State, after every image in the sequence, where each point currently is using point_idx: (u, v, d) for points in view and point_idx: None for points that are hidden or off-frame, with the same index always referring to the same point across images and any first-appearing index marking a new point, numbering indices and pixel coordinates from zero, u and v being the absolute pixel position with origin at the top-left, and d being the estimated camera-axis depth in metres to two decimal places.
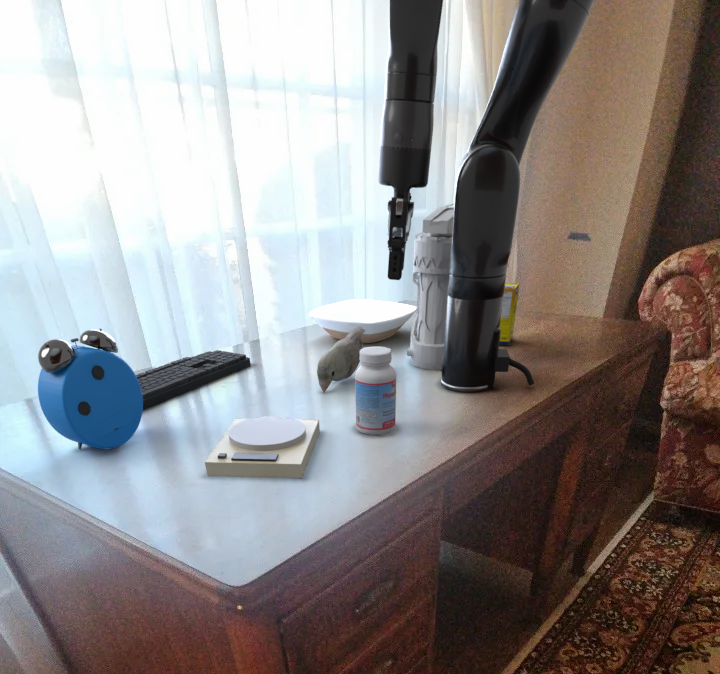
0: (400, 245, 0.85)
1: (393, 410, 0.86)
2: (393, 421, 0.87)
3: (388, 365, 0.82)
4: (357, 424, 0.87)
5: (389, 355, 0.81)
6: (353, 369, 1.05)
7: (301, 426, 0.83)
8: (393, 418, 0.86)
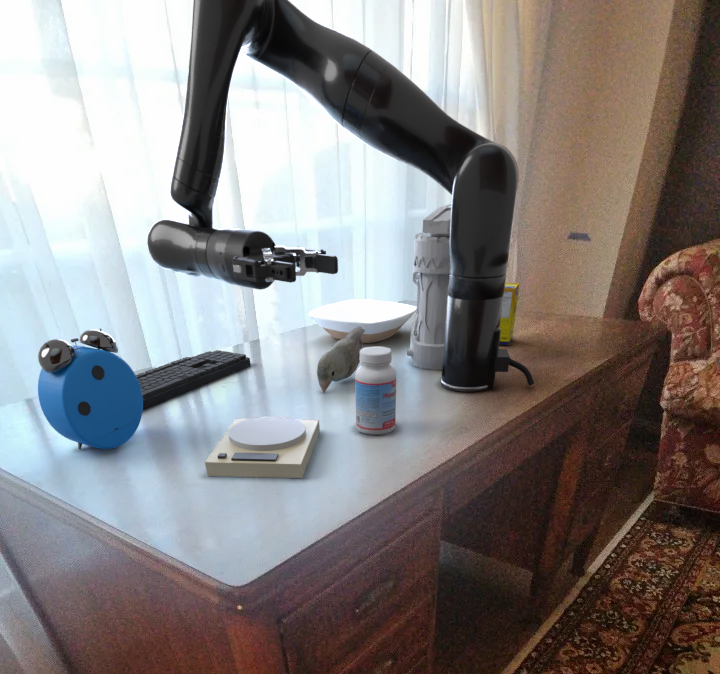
0: (255, 266, 0.79)
1: (393, 410, 0.86)
2: (393, 421, 0.87)
3: (388, 365, 0.82)
4: (357, 424, 0.87)
5: (389, 355, 0.81)
6: (353, 369, 1.05)
7: (301, 426, 0.83)
8: (393, 418, 0.86)
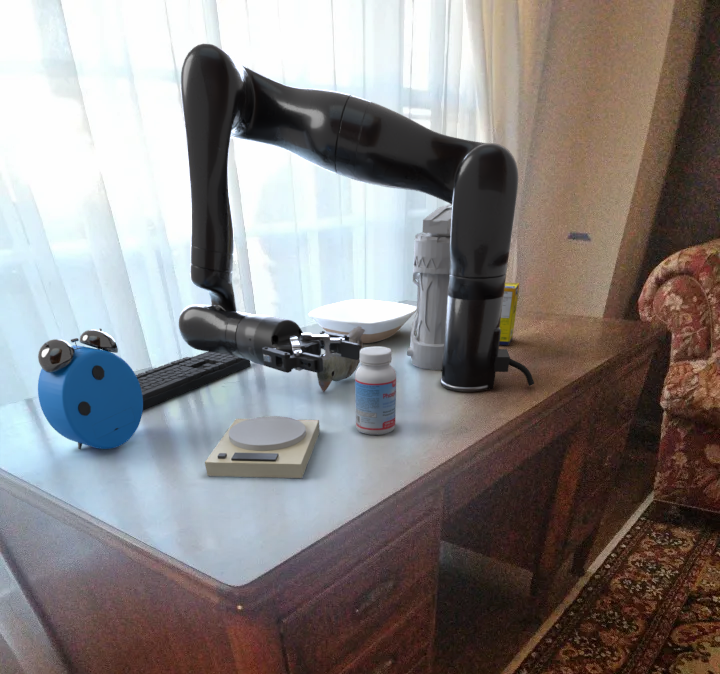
0: (285, 359, 0.85)
1: (393, 410, 0.86)
2: (393, 421, 0.87)
3: (388, 365, 0.82)
4: (357, 424, 0.87)
5: (389, 355, 0.81)
6: (353, 369, 1.05)
7: (301, 426, 0.83)
8: (393, 418, 0.86)
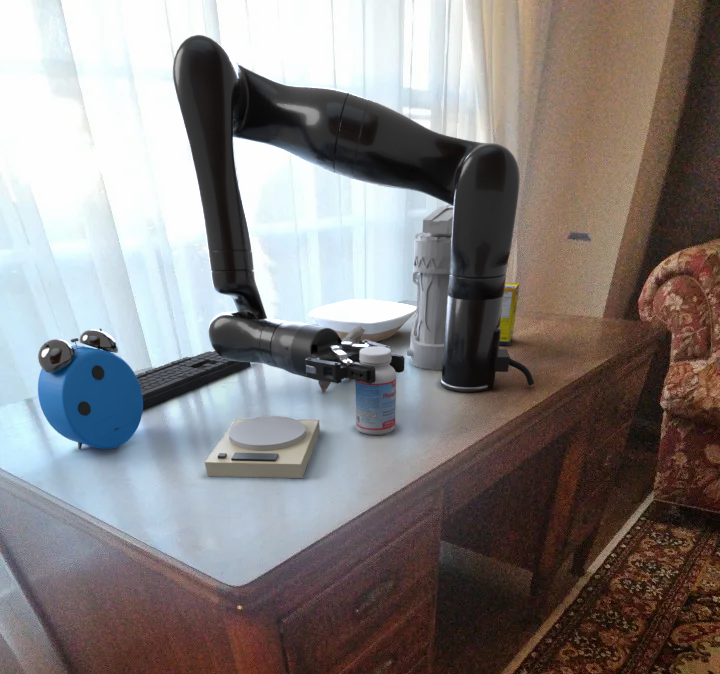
0: (335, 369, 0.80)
1: (393, 410, 0.85)
2: (393, 421, 0.87)
3: (388, 365, 0.82)
4: (357, 424, 0.87)
5: (389, 355, 0.81)
6: None
7: (301, 426, 0.83)
8: (393, 418, 0.86)
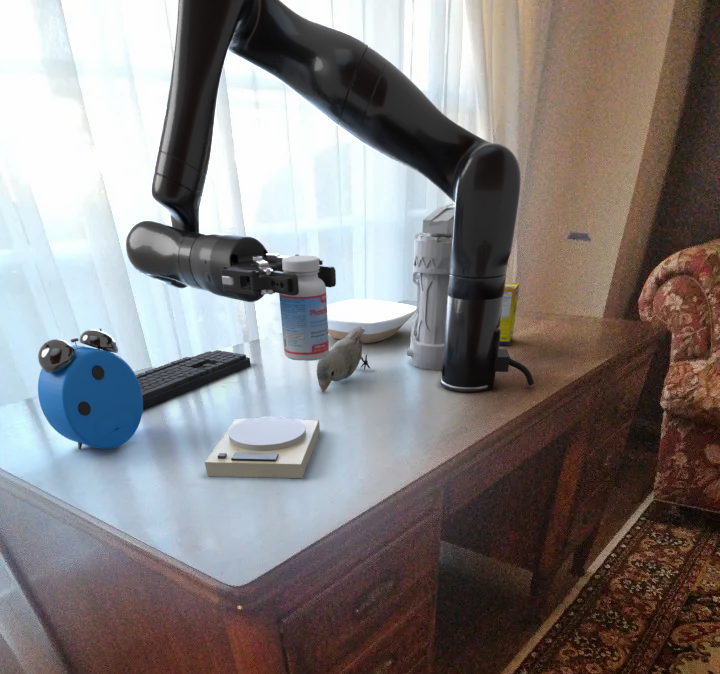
0: (252, 278, 0.70)
1: (324, 332, 0.75)
2: (325, 345, 0.76)
3: (315, 276, 0.71)
4: (284, 349, 0.77)
5: (315, 263, 0.70)
6: (353, 369, 1.05)
7: (301, 426, 0.83)
8: (325, 341, 0.76)
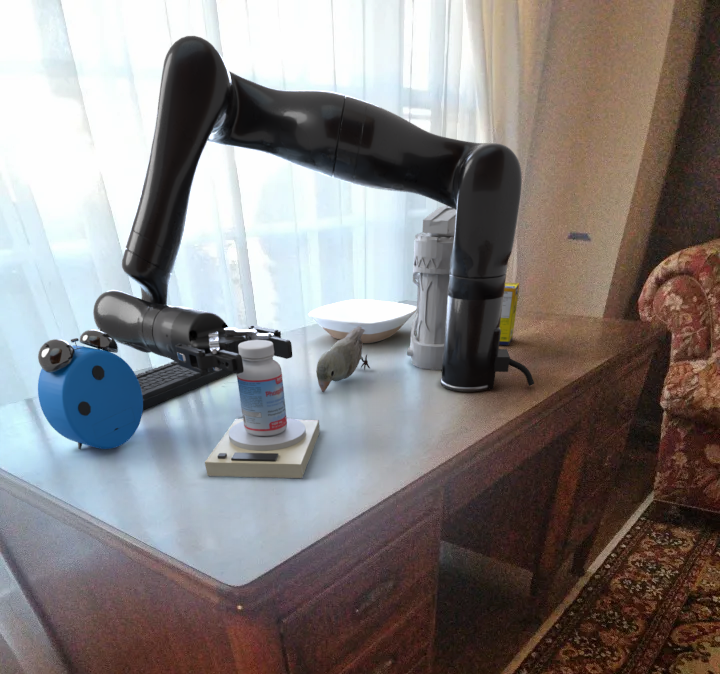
0: (199, 357, 0.73)
1: (281, 409, 0.79)
2: (282, 421, 0.80)
3: (270, 360, 0.75)
4: (244, 424, 0.80)
5: (269, 349, 0.74)
6: (353, 369, 1.05)
7: (301, 426, 0.83)
8: (282, 418, 0.79)
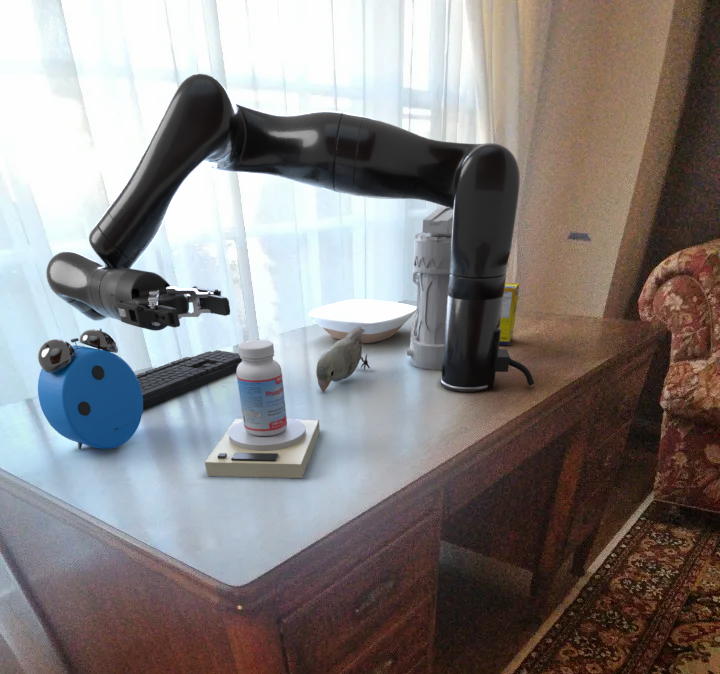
0: (137, 312, 0.76)
1: (281, 409, 0.79)
2: (282, 421, 0.80)
3: (270, 360, 0.75)
4: (244, 424, 0.80)
5: (269, 349, 0.74)
6: (352, 369, 1.05)
7: (301, 426, 0.83)
8: (282, 418, 0.79)
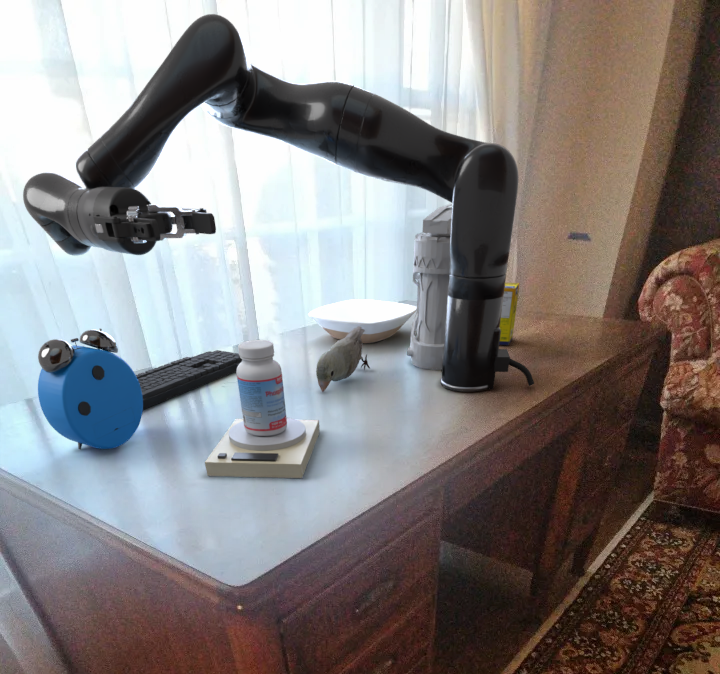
0: (114, 224, 0.70)
1: (281, 409, 0.79)
2: (282, 421, 0.80)
3: (270, 360, 0.75)
4: (244, 424, 0.80)
5: (269, 349, 0.74)
6: (352, 369, 1.05)
7: (301, 426, 0.83)
8: (282, 418, 0.79)
